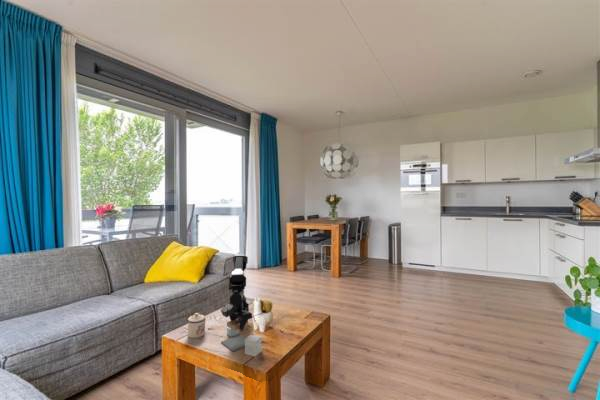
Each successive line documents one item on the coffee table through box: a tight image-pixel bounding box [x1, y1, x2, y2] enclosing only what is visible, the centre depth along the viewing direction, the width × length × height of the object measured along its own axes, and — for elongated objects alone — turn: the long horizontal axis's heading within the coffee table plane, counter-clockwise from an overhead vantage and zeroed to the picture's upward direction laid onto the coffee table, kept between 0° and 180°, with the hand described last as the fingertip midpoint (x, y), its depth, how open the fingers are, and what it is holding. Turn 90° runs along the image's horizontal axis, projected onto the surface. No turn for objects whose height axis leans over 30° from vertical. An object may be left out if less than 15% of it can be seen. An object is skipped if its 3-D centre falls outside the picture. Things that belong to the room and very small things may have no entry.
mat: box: [220, 333, 247, 352], centre depth 150 cm, size 12×12×1 cm
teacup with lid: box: [187, 312, 206, 339], centre depth 161 cm, size 12×9×12 cm
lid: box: [226, 319, 249, 331], centre depth 150 cm, size 8×8×3 cm
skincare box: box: [244, 333, 263, 357], centre depth 141 cm, size 6×6×7 cm
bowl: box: [226, 325, 240, 337], centre depth 161 cm, size 6×6×4 cm
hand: (237, 328), depth 150 cm, fingers closed on lid, 7 cm apart
